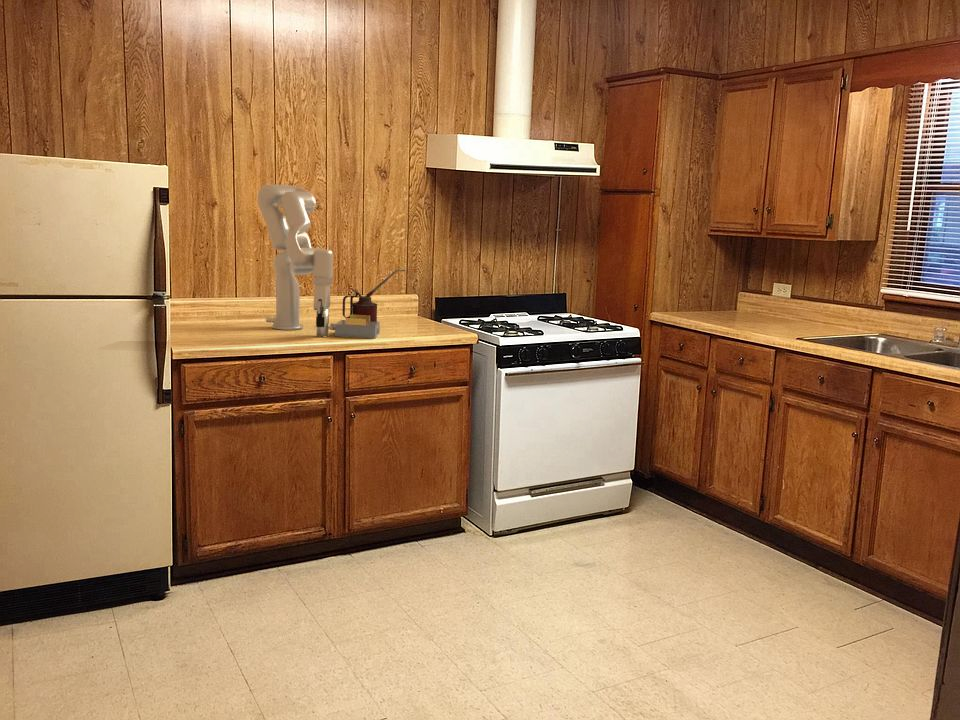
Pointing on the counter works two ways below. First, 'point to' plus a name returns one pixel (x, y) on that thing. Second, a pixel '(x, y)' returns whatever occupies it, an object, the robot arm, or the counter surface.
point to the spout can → (323, 330)
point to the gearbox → (356, 327)
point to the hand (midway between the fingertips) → (322, 325)
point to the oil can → (364, 303)
